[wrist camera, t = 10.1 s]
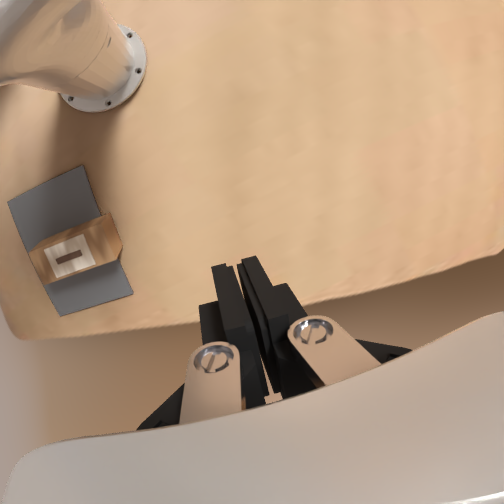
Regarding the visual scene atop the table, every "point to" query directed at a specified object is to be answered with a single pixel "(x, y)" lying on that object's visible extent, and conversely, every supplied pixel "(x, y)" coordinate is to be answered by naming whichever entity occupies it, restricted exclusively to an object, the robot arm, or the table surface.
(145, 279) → the table surface
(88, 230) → the cardboard box
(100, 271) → the charcoal mat
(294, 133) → the table surface
